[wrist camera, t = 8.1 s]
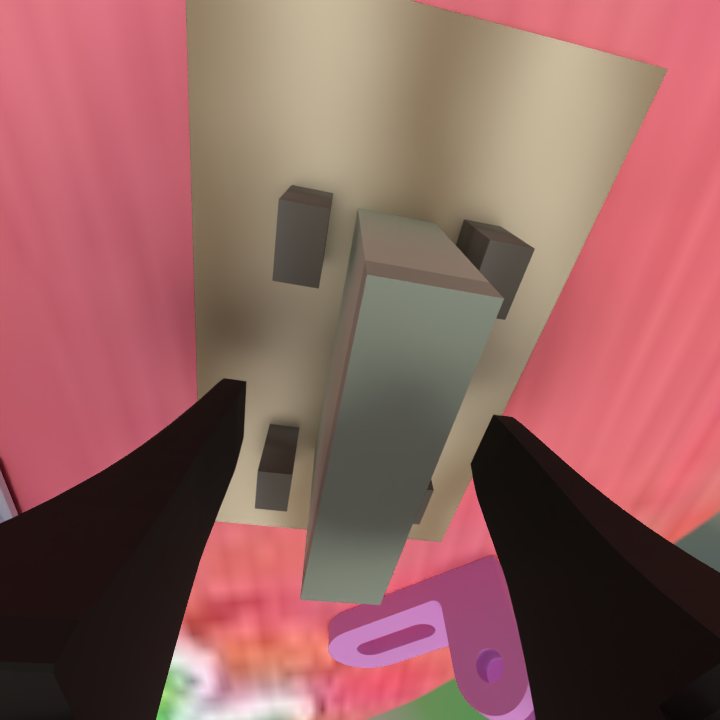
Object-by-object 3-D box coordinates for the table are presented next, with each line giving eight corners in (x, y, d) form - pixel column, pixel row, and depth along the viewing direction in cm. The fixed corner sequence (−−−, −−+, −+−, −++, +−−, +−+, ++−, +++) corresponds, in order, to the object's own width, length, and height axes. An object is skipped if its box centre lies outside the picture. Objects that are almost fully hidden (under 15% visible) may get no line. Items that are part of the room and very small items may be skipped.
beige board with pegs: (207, 502, 19) (182, 571, 16) (199, -43, 9) (129, -123, 6) (437, 524, 21) (452, 591, 18) (642, 73, 11) (755, 53, 8)
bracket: (491, 552, 23) (542, 704, 17) (525, 594, 25) (581, 739, 19) (312, 621, 26) (302, 767, 20) (358, 652, 29) (362, 790, 23)
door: (314, 452, 17) (300, 599, 11) (357, 208, 12) (367, 274, 6) (369, 459, 17) (379, 605, 12) (435, 223, 12) (503, 298, 7)
